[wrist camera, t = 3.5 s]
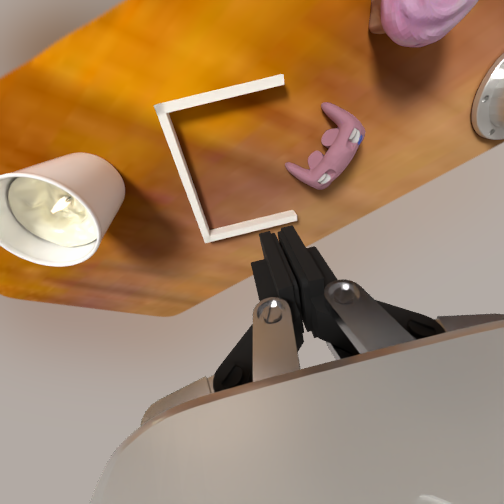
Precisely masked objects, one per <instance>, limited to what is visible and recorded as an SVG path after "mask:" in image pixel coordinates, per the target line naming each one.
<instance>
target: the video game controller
mask: <svg viewBox="0 0 504 504" xmlns="http://www.w3.org/2000/svg"><path fill="white" fill-rule="evenodd" d="M321 108H322V110H323V111H324V113H325V114H326V115H327V116H328V117H329V118H330V119H331V120H332V121H333V122H334V123H335V124H337V126H338V128H335V129H329V130H327V131H326V132H325V133H324V134H323V136H322V144H323V145H324V146H325V147H327V148H328V151H327V152H326V154H325V155H323V154H322V153H321V152H320V151H314V152H313V153H312V154H311V155H310V156H309V158H308V164H309V167H310V169H309V170H308V169H304V168H302V167H300V166H298V165H296V164H293V163H290V162H287V163H285V167H286V169H287V170H288V171H289V172H290V173H291V174H292V175H294V176H295V177H296V178H298V179H299V180H300V181H302V182H304V183H306V184H307V185H309V186H311V187H313V188H316V189H319V190H321V189H324V188H326V187H328V186H329V185H330V184H331V182H332V181H333V180H335V179H336V178H337V177H338V176H339V175H340V174H341V173H342V172H343V171H344V170H345V168H346V167H347V166H348V164H349V163H350V161H351V160H352V158H353V157H354V155H355V153H356V151H357V149H358V147H359V144H360V143H361V142H362V141H363V139H364V136H365V129H364V127H363V126H362V124H361V123H360V121H359V120H358V119H357V118H356V117H354V116H353V115H352V114H350V113H349V112H347V111H346V110H344V109H342V108H340V107H338V106H336V105H334V104H332V103H328V102H325V103H322V104H321Z"/></svg>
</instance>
